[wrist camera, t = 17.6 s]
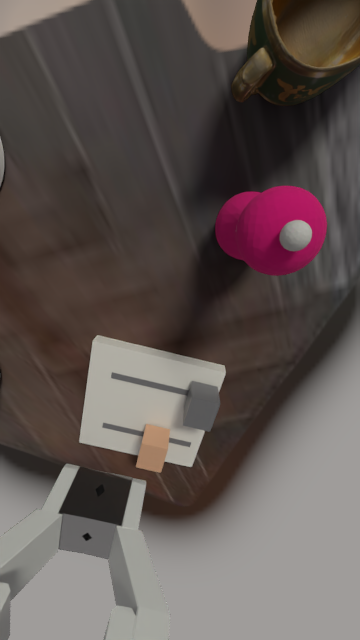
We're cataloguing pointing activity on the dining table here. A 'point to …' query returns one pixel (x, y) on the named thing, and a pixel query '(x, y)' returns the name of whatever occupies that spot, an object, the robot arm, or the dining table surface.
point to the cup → (298, 49)
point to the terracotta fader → (153, 448)
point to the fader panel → (142, 397)
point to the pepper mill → (272, 229)
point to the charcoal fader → (201, 406)
